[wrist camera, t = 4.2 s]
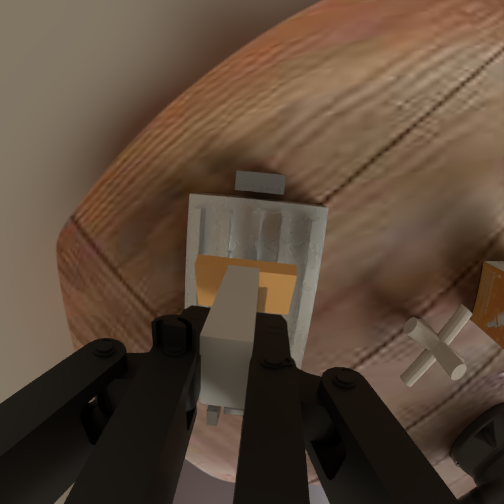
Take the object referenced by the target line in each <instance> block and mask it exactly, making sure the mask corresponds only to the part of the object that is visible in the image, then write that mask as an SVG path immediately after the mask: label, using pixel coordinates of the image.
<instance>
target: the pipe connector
mask: <svg viewBox="0 0 504 504" xmlns="http://www.w3.org/2000/svg"><path fill="white" fill-rule="evenodd" d="M471 316H472V313H471V312H470V311H469V310H468V309H467V308H466V307H465V306H464V305H462V304H461V305H460V306H459V308H458V309H457V310H456V312H455V313H454V314H453V316H452V317H451V318H450V319H449V321H448V322H447V323H446V325H445V326H444V327H443V328H442V330H441V331H440V332H439V333H438V334H437V333H436V332H435V331H434V330H433V329H432V328H431V327H430V326H429V325H428V324H427V323H426V322H425V321H424V320H423V319H417V318H415V317H412V318H410V319H409V320H408V321H407V322H406V323H405V325H404V329H403V330H404V333H406V334H407V335H408V336H410V337H411V338H412V339H414V340H415V341H416V342H418V343H419V344H420V345H422V346H423V347H424V348H426V349H425V350H424V351H423V352H422V353H421V354H420V356H419V357H418V358H417V359H416V360H415V361H414V362H413V363H412V364H411V365H410V367H409V368H408V369H407V370H406V371H405V372H404V373H403V374H402V375H401V376H400V378H401V379H402V381H403V382H404V383H405V384H406V385H407V386H409V387H411V386H412V385H413V384H414V383H415V382H416V381H417V380H418V379H419V378H420V377H421V376H422V375H423V374H424V372H425V371H426V370H427V369H428V368H429V367H430V366H431V365H432V364H433V363H434V361H435V360H436V359H437V361H438V362H439V363H440V364H441V366H442V367H443V368H444V369H445V371H446V372H447V373H448V375H449V376H450V377H451V378H452V380H458V379H459V378H461V377H462V376H463V375H464V373H465V372H466V368H467V367H466V365H465V364H464V358H463V357H462V356H461V355H460V354H459V353H458V352H457V351H455V350H454V349H453V348H452V347H451V346H450V345H449V344H450V343H451V342H452V340H453V339H454V338H455V337H456V335H457V334H458V333H459V332H460V330H461V329H462V328H463V326H464V325H465V324H466V322H467V321H468V320H469V318H470V317H471Z"/></svg>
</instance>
